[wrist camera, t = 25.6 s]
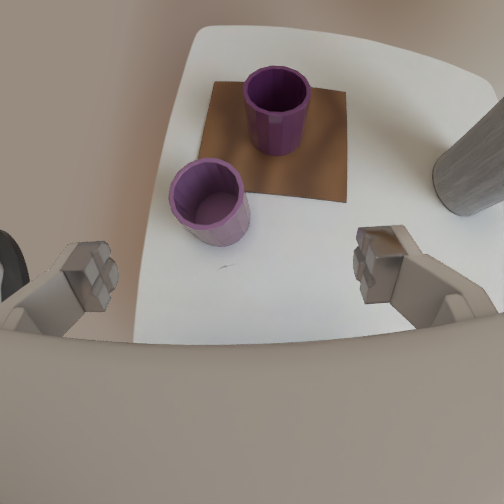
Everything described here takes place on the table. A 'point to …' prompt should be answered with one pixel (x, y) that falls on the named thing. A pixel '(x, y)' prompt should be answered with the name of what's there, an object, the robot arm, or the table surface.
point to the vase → (474, 167)
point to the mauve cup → (211, 201)
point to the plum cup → (276, 109)
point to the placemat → (287, 166)
